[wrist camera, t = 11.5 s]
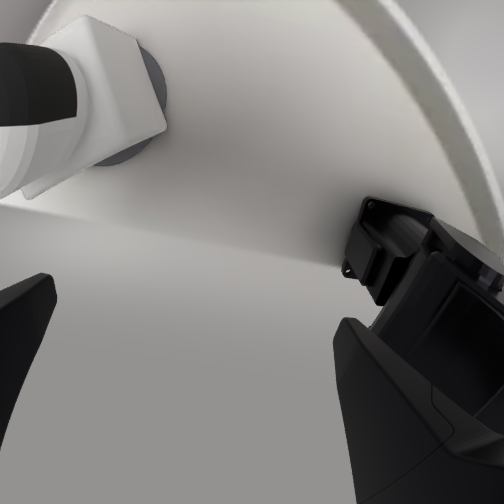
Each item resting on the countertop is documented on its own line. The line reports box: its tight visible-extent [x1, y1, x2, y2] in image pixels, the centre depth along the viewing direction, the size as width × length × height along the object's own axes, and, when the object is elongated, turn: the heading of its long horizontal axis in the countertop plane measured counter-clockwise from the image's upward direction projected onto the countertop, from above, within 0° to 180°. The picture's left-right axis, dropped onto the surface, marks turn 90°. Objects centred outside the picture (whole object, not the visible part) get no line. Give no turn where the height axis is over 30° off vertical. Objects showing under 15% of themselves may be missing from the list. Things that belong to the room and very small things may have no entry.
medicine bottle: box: [0, 15, 167, 200], centre depth 11 cm, size 7×7×12 cm
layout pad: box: [94, 46, 166, 166], centre depth 17 cm, size 9×9×1 cm
